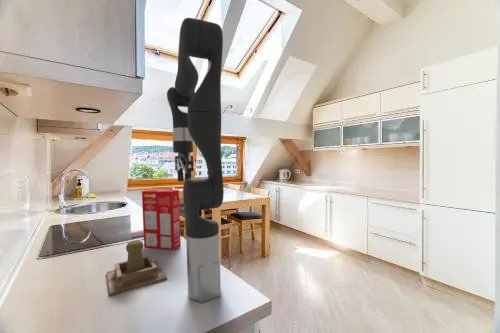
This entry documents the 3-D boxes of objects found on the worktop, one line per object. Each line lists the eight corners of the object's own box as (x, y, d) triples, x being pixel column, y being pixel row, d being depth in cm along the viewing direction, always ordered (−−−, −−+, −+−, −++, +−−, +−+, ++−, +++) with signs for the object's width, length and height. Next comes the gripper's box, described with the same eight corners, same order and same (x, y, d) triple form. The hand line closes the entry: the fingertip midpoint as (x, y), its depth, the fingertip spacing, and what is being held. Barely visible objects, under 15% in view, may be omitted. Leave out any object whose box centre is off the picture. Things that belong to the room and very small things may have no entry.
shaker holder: (167, 279, 79) (166, 267, 79) (109, 295, 70) (109, 282, 70) (155, 262, 92) (155, 252, 92) (106, 274, 83) (106, 263, 83)
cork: (121, 276, 80) (120, 243, 79) (138, 268, 85) (136, 237, 85) (133, 280, 77) (132, 246, 77) (149, 272, 82) (148, 240, 82)
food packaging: (180, 245, 109) (178, 189, 108) (174, 250, 104) (172, 191, 103) (151, 243, 112) (149, 189, 111) (144, 247, 107) (141, 191, 106)
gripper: (199, 139, 91) (200, 183, 91) (186, 141, 102) (187, 180, 103) (179, 138, 86) (180, 184, 87) (167, 141, 98) (169, 181, 99)
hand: (184, 182), depth 95 cm, fingers open, 8 cm apart
